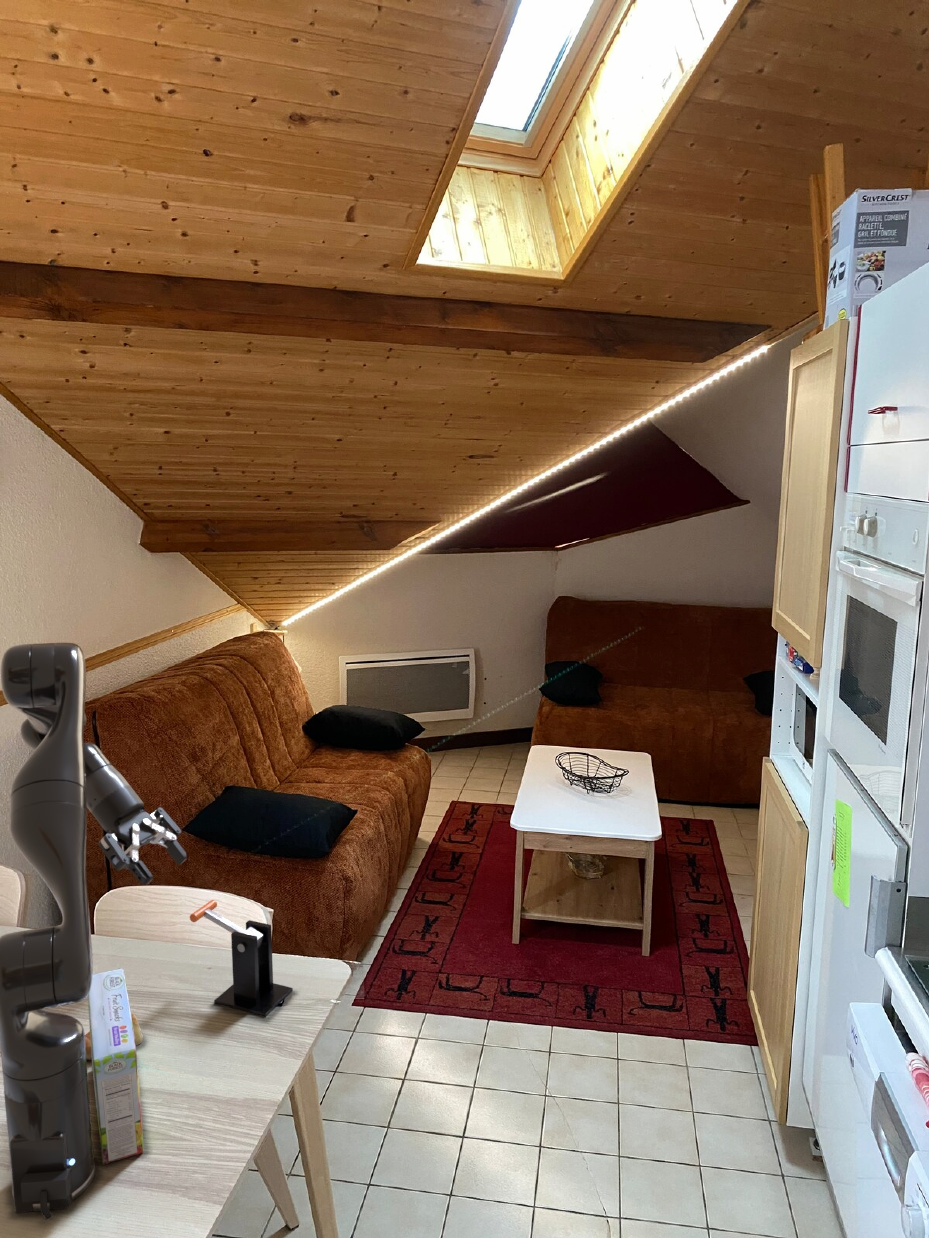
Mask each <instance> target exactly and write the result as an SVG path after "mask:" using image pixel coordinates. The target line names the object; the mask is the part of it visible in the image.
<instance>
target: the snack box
mask: <svg viewBox="0 0 929 1238" xmlns="http://www.w3.org/2000/svg"><path fill="white" fill-rule="evenodd" d="M126 983H127V981H126V976H125V971H124V967H121V968H117V969H113V970H109V971H103V972H98V973H93V976H92V984H91V989H90V992H89V994H88V996H87V1004H88V1019H89V1020H88V1023H89V1031H90V1041H91V1055H92V1059H91V1064H92V1065H91V1067H92V1075H93V1076H92V1079H93V1087H94V1099H95V1107H96V1116H97V1125H98V1132H99V1133H98V1134H99V1142H100V1150H101V1162H102V1165H107V1164H110V1163H114V1162H117V1161H120V1160H123V1159H127V1158H129V1157H133V1156H136V1155H139V1154H142V1153H144V1151H145V1150H144V1136H143V1135H144V1134H143V1133H144V1132H143V1119H142V1104H141V1092H140V1091H141V1090H140V1089H141V1088H140V1079H139V1065H138V1055H137V1047H136V1046H137V1045H135V1038H134V1031H133V1024H132V1017H131V1013H132V1011H131V1006H130V1000H129V994H128V988H127V984H126Z"/></svg>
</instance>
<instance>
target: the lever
mask: <svg viewBox="0 0 929 1238" xmlns="http://www.w3.org/2000/svg"><path fill="white" fill-rule="evenodd" d="M216 908H218V902H217V900H215V899H211V900H210V901H208V902H206V903H205V904H203V906H201V907H199V908H198V909H197V910H195V911H194V912H192V913H191V914H190V915H189V920H190V922H192V923H196V922H198V921H199V920H200V919H202V918H206V919H208V920H209V921H211V922H212V923H214V924H215V925H218V926H219V927H221V928H223V929H224V930H226V931H228V932H229V933H230V934H232V933H233V932H234V931H236V932H241V933H245V934H249V935H254V936H257V943H258V948H259V947H260V946H261V943H262V940H263V936H264V934H262V933H261V932H259V931H257V930H255V929H254V928H252V927H249V928H248V929H247V930H246V929H244V928H243V927H241V926H239V925H237V924H236V923H234V922H232V921H230V920H229V919H227V918H225V917H224V916H222V915H220V914H218V913H217V912H215V911H213V910H214V909H216Z"/></svg>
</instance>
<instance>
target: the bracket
mask: <svg viewBox="0 0 929 1238" xmlns="http://www.w3.org/2000/svg"><path fill="white" fill-rule="evenodd" d="M249 927H252V928H254V929H255V930H257V931H259V932H261V933H262V934H264V936H263V940H262V943H261V946H260V947H259V948H258V943H257V936H254V935H249V934H245V933H241V932H236V931H234V932H233V933H230V936H231V937H230V938H231V939H230V940H231V961H232V962H231V964H232V984H231V985H230V986H229V987H228V988H227V989H226V990H225V991H223V992H221V994H219V996H217V998H215V999H214V1001H213V1003H214V1005H218V1006H222V1007H224V1008H229V1009H233V1010H237V1011H241V1012H244V1013H248V1014H252V1015H256V1016H259V1017H263V1018H266V1017H268V1016H269V1015H270V1014H271V1013H272V1012H273V1010H276V1008H277V1007H278V1006H279V1005H280V1004H281V1003H282V1002H284V1001H285V999H286V998H287V997H288V996H289V995H290V994H291V993H292V992H294V990H293V987H290V986H287V985H283V984H279V983H275V982H274V970H273V965H274V964H273V943H272V942H273V941H272V938H273V937H272V935H273V934H272V925H271V924H268V923H264V922H260V921H255V920H250V919H248V920H247V921H246V922H245V930H247V929H248V928H249Z"/></svg>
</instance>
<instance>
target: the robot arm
mask: <svg viewBox="0 0 929 1238" xmlns="http://www.w3.org/2000/svg"><path fill="white" fill-rule="evenodd" d="M0 663H1V664H0V684H1V690H2V695H3V697H4V700H5V701H6V702H7V704H8V705H9V706H11V708H13V709H16V710H17V711H19V712H20V713H22V714H23V715H25V717H26V719H24V720H23V722H22V723H21V725H20V736H21V739H22V741H23V743H24V744H26V746H27V747H29V749H31V750H32V751H33V752H32V753H31V754H30V755H29V757H28V758H27V759H26V761H25V762H24V763H23V764H22V766H21V767H20V768H19V770H18V771H17V773H16V775H15V777H14V779H13V781H12V783H11V787H10V797H9V798H10V801H9V802H10V804H9V808H10V809H9V833H10V836H11V839H12V841H13V843H14V844H15V846H16V848H17V849H18V851H19V853H21V855H22V856H23V857H24V859H25V860H26V861H27V863H29V865H30V866H31V867H32V868H33V869H34V871H36V872H37V874H38V875H39V876H40V878H41V879H42V880H43V881H44V883H45V885H46V886H47V887H48V890H49V891H50V892H51V894H52V895H53V898H54V899H55V901H56V903H57V905H58V908H59V910H60V913H61V916H62V922H61V923H60V924H58V925H51V926H45V927H39V928H32V929H26V930H20V931H14V932H8V933H5V934H3V935H1V936H0V1057H1V1071H2V1072H1V1073H2V1081H3V1095H4V1105H5V1118H6V1129H7V1140H8V1141H7V1142H8V1152H9V1162H10V1171H11V1172H10V1173H11V1194H12V1199H13V1202H14V1211H15V1213H26V1212H41V1214H42V1217H44V1218H45V1219H46V1220H50V1219H51V1218H52V1217H53V1214H52V1212H51V1211H52V1210H64V1209H68V1208H69V1207H71V1203H72V1202H73V1201H74V1200H75V1199H77V1198H78V1197H79V1196H80V1195H82V1194H83V1193H84V1192H85V1191H86V1190H87V1189H88V1188H89V1186H90V1185H91V1183H92V1182H93V1180H94V1178H95V1174H96V1163H95V1162H96V1160H95V1156H94V1143H93V1132H92V1118H91V1117H92V1116H91V1105H90V1093H89V1092H90V1090H89V1089H90V1088H89V1079H88V1063H87V1059H86V1045H85V1035H86V1033H85V1028H84V1025H83V1024H82V1023H81V1021H80V1020H79V1019H77V1018H76V1017H74V1016H72V1015H69V1014H66V1013H60V1012H55V1011H49V1010H48V1009H52V1008H57V1007H63V1006H67V1005H68V1006H69V1005H72V1004H76V1003H79V1002H82V1001H85V999H86V998H88V994H89V992H90V989H91V984H92V976H93V974H94V972H93V971H94V966H93V965H94V959H93V944H92V931H91V930H92V929H91V920H90V919H91V917H90V908H89V907H90V906H89V895H88V880H87V831H88V829H87V826H88V825H87V824H88V811H89V812H90V813H91V814H92V816H93V817H94V818H95V820H96V821H97V822H98V824H99V825H100V826H101V827H102V829H103V830H104V831H105V832H106V834H105V835H104V836H103V837H101V840H99V841H98V846H99V848H100V850H102V852H103V853H104V856H105V857H106V858H107V859H108V861H109V863H110V864H111V866H112V867H113V868H114V870H115V871H118V872H119V871H121V870H123V869H126V870H129V871H130V872H131V873H132V875H133V876H134V877H135V879H136V880H137V881H138V883H140V884H142V885H143V886H147V885H148V884H150V883H151V882H152V881H153V880H154V875H153V874H152V872H151V871H150V870H149V869H148V867H147V865H145V863H144V862H143V861H142V860H141V859H140V857H139V849H140V848H141V847H142V846H146V845H148V844H152V845H159V846H162V847H164V848H166V849H165V850H166V852H167V854H169V856H170V857H171V859H173V861H174V862H175V863H176V864H177V866H180V865H181V864H183V863H184V862H185V861H187V859H188V856H187V855H188V854H187V852H186V850H185V849H184V848H183V846H181V844H180V843H179V842H178V840H177V839H178V837H179V835H180V834H181V833H182V829H181V828H180V827H179V826H178V825H177V823H176V822H175V821H174V820H173V819H172V817H170V815H169V814H168V813H167V812H166V811H165V809H164V808H162V807H158V808H157V809H155V811H153V812H152V813H151V814H150V813H148V812H147V811H146V810H145V802H144V801H142V799H141V797H139V795H138V794H137V792H136V791H135V790H134V789H133V787H132V786H131V785H130V783H129V782H128V781H127V780H126V779H125V777H124V775H122V774H121V772H120V771H118V770H117V768H115V766H114V765H113V764H112V763H111V761H109V759H108V758H107V757H106V756H105V753H103V751H102V750H101V749H100V747H99V746H97V745H96V744H95V743H94V742H84V739H85V738H84V737H85V736H84V735H85V734H84V733H85V728H86V726H87V724H88V723H87V721H88V720H87V716H86V712H85V710H86V693H87V692H86V691H87V688H86V687H87V665H86V664H87V663H86V658H85V654H84V652H83V649H82V648H81V646H80V645H78V644H77V643H75V642H46V643H45V642H43V643H42V642H41V643H23V644H17V645H13V646H11V647H9V648H8V649H6V651H5V652H4V653H3V655H2V658H1V662H0ZM120 845H121V846H120ZM139 859H140V860H139Z"/></svg>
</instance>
